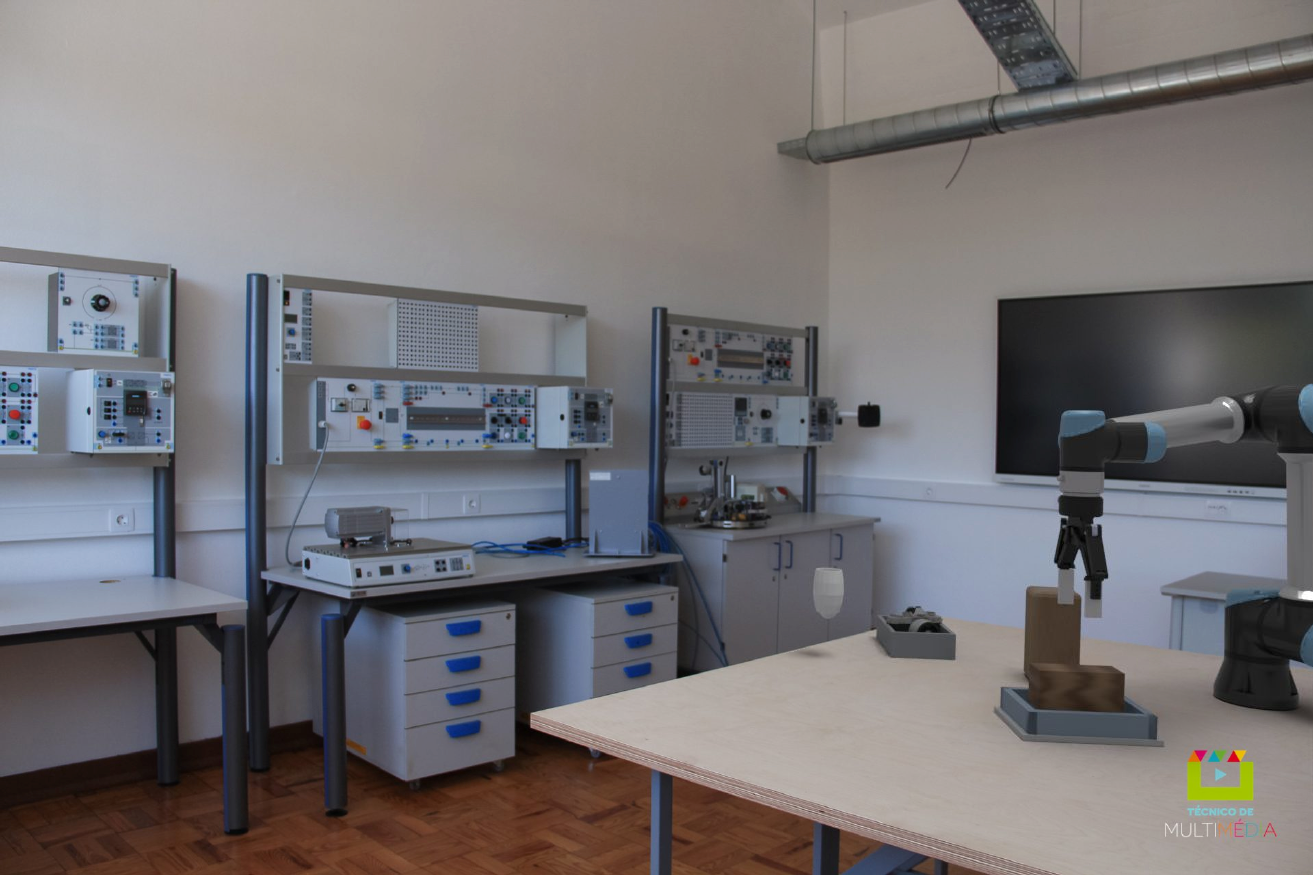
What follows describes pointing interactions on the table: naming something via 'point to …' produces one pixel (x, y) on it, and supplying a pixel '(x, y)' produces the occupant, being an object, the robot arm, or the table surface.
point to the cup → (828, 591)
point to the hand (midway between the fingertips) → (1078, 610)
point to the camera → (915, 621)
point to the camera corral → (916, 642)
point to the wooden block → (1051, 628)
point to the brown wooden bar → (1076, 687)
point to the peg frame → (1077, 722)
